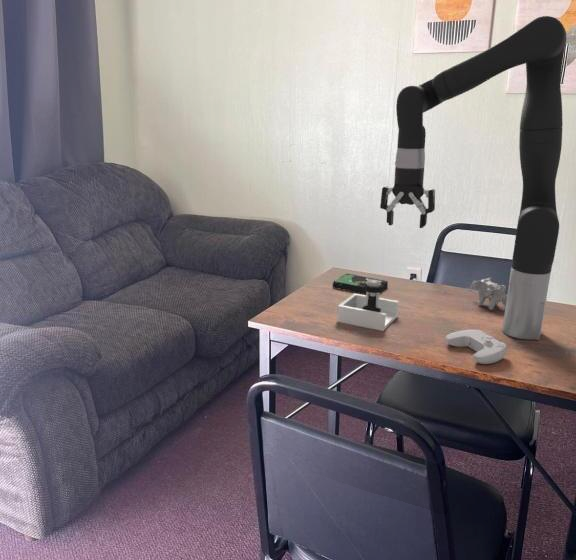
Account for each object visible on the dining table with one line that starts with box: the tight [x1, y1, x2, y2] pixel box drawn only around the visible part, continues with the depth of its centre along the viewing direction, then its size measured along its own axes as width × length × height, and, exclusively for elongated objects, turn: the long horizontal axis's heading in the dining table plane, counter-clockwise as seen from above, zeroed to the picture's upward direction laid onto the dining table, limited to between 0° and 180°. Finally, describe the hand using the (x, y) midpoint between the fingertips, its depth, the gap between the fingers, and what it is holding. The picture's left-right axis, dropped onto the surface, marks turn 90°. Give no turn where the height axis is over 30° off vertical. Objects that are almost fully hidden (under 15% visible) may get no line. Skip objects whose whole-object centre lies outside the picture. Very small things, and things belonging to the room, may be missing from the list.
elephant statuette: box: [469, 276, 507, 311], centre depth 165 cm, size 9×12×8 cm
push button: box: [359, 278, 384, 313], centre depth 151 cm, size 7×5×10 cm
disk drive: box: [332, 273, 389, 295], centre depth 179 cm, size 10×3×15 cm
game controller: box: [444, 329, 508, 365], centre depth 133 cm, size 14×4×10 cm
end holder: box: [336, 292, 399, 332], centre depth 152 cm, size 13×12×4 cm
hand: (405, 226), depth 152 cm, fingers open, 8 cm apart
